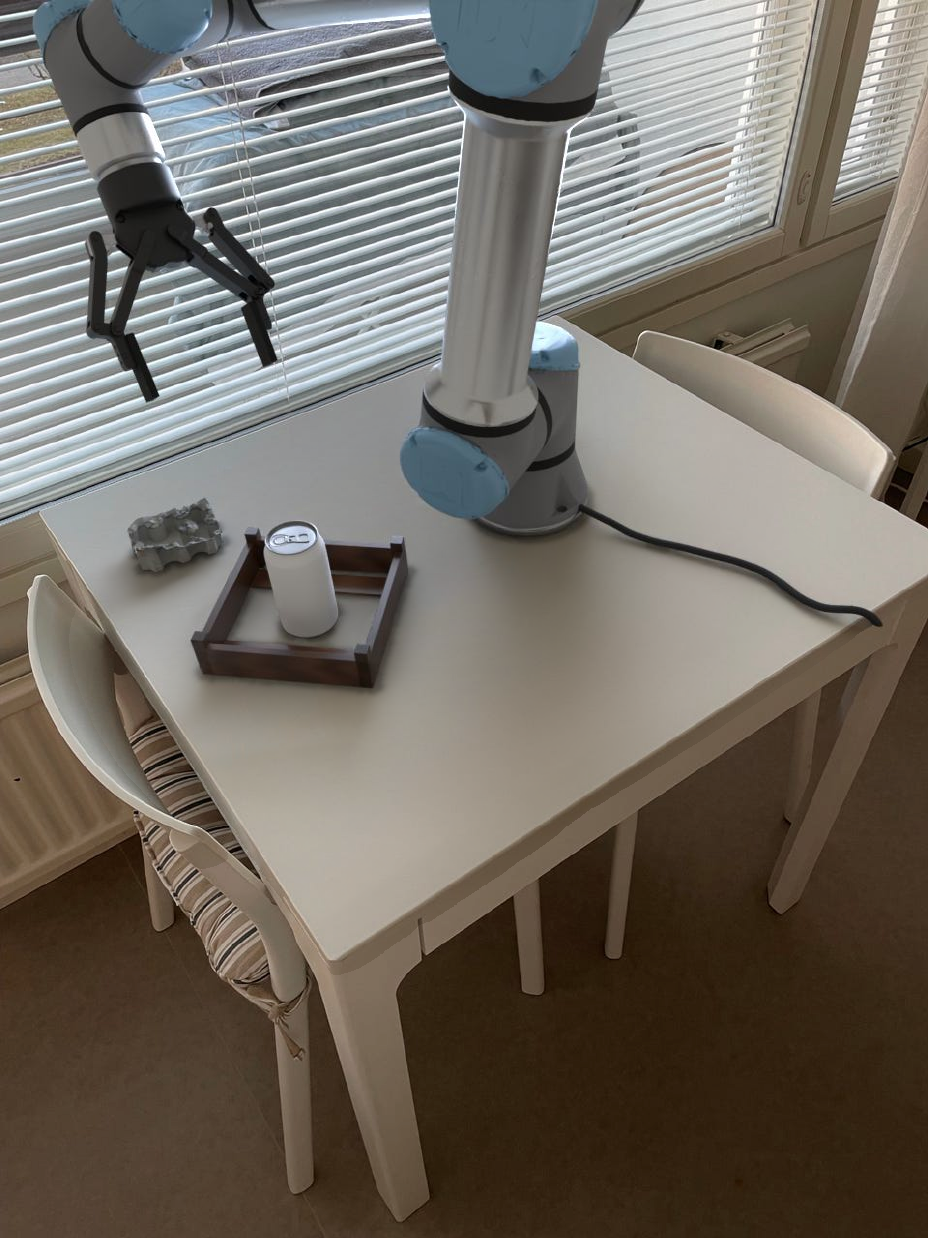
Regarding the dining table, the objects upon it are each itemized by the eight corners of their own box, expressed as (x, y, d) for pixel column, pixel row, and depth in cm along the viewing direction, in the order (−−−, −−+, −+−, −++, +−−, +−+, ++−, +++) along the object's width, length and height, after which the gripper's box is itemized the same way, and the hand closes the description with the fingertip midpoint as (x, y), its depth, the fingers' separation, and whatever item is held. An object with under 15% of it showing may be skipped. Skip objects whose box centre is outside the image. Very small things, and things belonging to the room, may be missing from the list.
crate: (408, 570, 110) (404, 536, 107) (373, 688, 97) (366, 654, 94) (256, 560, 113) (247, 526, 110) (202, 674, 100) (190, 640, 96)
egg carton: (142, 578, 112) (131, 552, 109) (131, 542, 117) (121, 516, 114) (228, 551, 115) (220, 525, 112) (215, 517, 120) (207, 492, 117)
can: (283, 602, 107) (262, 520, 99) (339, 597, 108) (323, 514, 99) (280, 642, 103) (257, 559, 94) (338, 637, 103) (321, 553, 95)
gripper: (231, 167, 102) (302, 357, 107) (0, 210, 90) (91, 421, 95) (255, 139, 96) (328, 342, 101) (9, 181, 84) (106, 409, 89)
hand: (213, 381), depth 98 cm, fingers open, 13 cm apart
